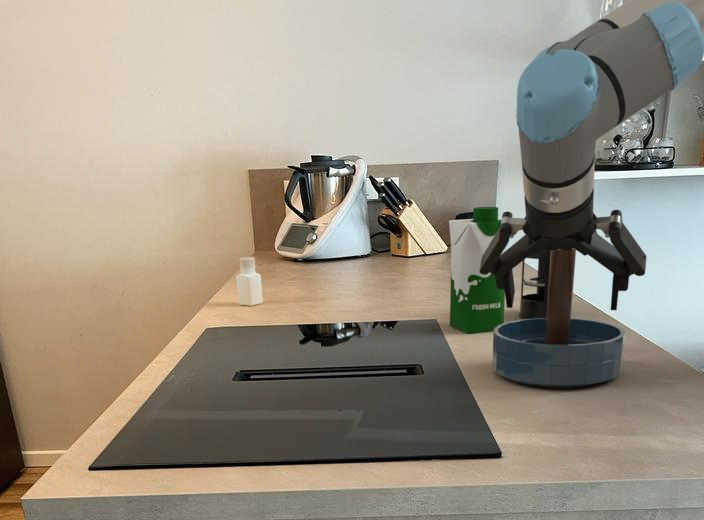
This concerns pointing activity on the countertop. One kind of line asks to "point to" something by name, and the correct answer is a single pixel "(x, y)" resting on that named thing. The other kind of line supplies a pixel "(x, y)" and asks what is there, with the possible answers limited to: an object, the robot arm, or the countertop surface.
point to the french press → (537, 302)
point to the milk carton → (474, 274)
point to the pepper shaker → (249, 283)
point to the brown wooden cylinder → (560, 296)
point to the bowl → (558, 353)
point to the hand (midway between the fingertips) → (561, 300)
